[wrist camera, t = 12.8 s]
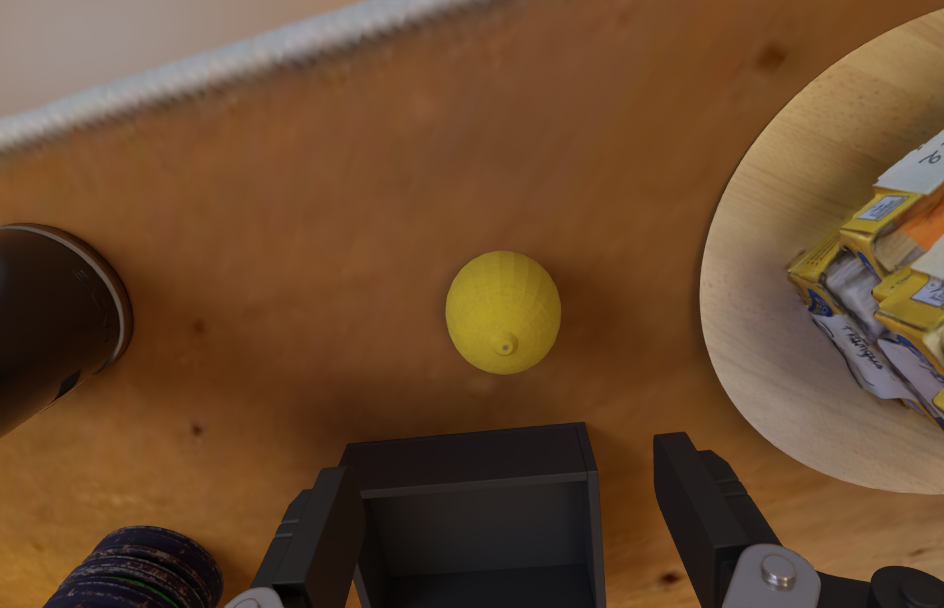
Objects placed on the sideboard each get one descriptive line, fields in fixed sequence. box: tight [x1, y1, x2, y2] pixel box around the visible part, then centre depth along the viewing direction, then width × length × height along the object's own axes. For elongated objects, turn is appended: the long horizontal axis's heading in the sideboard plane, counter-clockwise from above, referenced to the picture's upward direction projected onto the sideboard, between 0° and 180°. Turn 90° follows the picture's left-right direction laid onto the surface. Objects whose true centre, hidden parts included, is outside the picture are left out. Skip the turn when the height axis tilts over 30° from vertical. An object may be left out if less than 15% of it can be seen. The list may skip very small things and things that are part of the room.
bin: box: [338, 422, 606, 608], centre depth 33 cm, size 15×12×4 cm
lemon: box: [445, 251, 561, 374], centre depth 25 cm, size 6×6×8 cm
